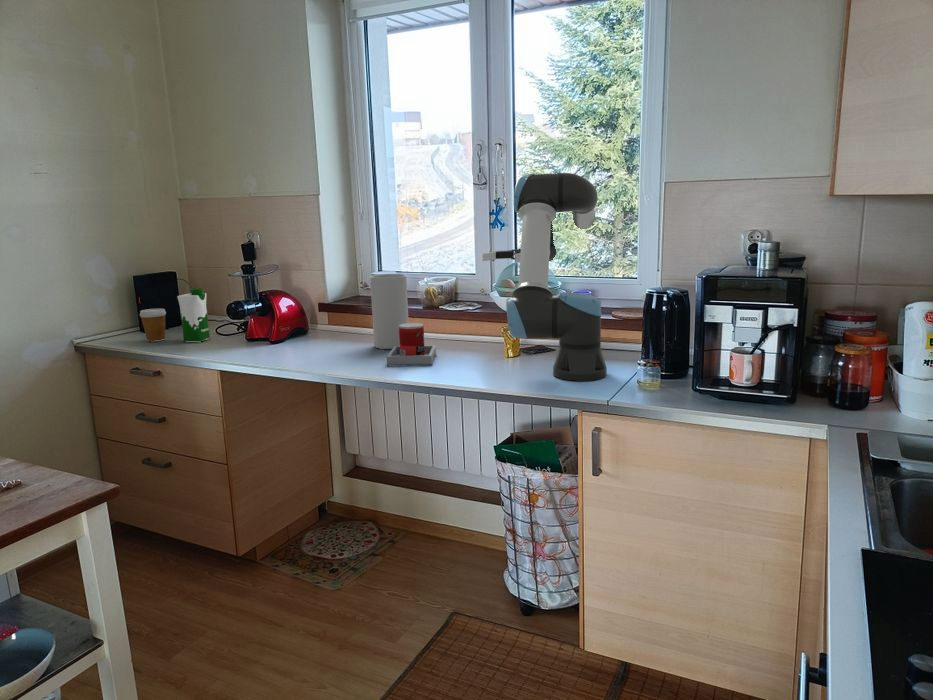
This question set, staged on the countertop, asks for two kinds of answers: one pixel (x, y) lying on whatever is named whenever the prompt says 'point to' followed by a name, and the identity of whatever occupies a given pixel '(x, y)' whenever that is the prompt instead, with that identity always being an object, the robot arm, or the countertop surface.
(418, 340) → the canned food
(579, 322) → the robot arm
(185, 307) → the milk carton
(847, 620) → the countertop surface
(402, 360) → the box
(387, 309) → the cylinder vase
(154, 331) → the disposable coffee cup
